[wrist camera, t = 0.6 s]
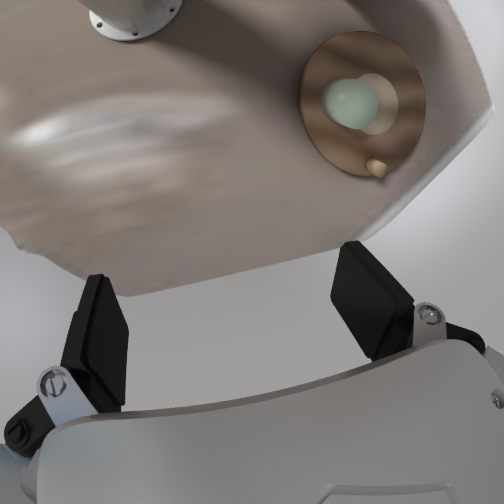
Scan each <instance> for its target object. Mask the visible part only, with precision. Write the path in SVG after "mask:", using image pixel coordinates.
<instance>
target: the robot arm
mask: <svg viewBox="0 0 504 504" xmlns="http://www.w3.org/2000/svg"><path fill="white" fill-rule="evenodd" d="M78 1H79V2H80V3H81V4H83V5H84V6H85V7H87V8H88V9H89V17H90V21H91V24H92V26H93V27H94V28H95V30H96V31H97V32H99V33H100V34H101V35H103V36H104V37H106V38H109V39H112V40H117V41H132V40H138V39H141V38H144V37H148V36H150V35H152V34H154V33H156V32H158V31H159V30H161V29H162V28H164V27H165V26H166V25H167V24H168V23H169V22H170V21H171V20H172V19H173V18H174V17H175V16H176V14H177V13H178V11H179V9H180V7H181V4H182V1H183V0H78ZM170 10H174V11H173V12H170ZM100 25H102V27H100ZM136 33H138V35H137V36H135V34H136ZM330 297H331V301H332V303H333V305H334V306H335V308H336V309H337V311H338V312H339V314H340V315H341V317H342V318H343V320H344V322H345V323H346V325H347V326H348V328H349V330H350V331H351V333H352V334H353V336H354V338H355V339H356V341H357V342H358V344H359V346H360V347H361V349H362V351H363V352H364V354H365V355H366V357H367V358H370V359H371V360H372V362H371V363H369V364H366V365H363V366H360V367H357V368H355V369H352V370H349V371H346V372H343V373H339V374H336V375H333V376H330V377H326V378H323V379H320V380H316V381H313V382H309V383H305V384H302V385H298V386H294V387H290V388H286V389H282V390H278V391H273V392H269V393H265V394H260V395H255V396H250V397H245V398H240V399H234V400H229V401H222V402H216V403H210V404H202V405H195V406H187V407H177V408H168V409H158V410H144V411H127V412H121V406H123V405H125V386H126V364H127V350H128V337H129V330H128V326H127V323H126V321H125V319H124V316H123V314H122V311H121V309H120V306H119V303H118V301H117V298H116V296H115V293H114V290H113V287H112V285H111V282H110V279H109V278H108V277H105V276H104V275H103V274H96V275H90V276H89V277H88V279H87V282H86V285H85V288H84V291H83V294H82V297H81V300H80V303H79V306H78V310H77V311H75V312H74V315H73V318H72V321H71V325H70V328H69V332H68V335H67V339H66V343H65V347H64V351H63V355H62V359H61V364H60V366H52V367H49V368H47V369H46V370H44V371H43V372H42V373H41V375H40V376H39V378H38V381H37V392H38V395H37V396H36V397H35V398H34V399H33V400H31V401H30V402H29V403H28V404H27V405H26V406H24V407H23V408H22V409H21V410H20V411H19V412H18V413H16V414H15V415H14V416H13V417H12V418H11V419H10V420H9V421H8V422H7V424H6V426H5V430H4V438H5V441H6V443H5V444H4V445H3V444H0V504H504V356H503V355H502V354H500V353H499V352H497V351H495V350H494V349H492V348H490V347H489V346H487V347H486V348H485V343H484V341H483V339H482V338H481V336H480V335H479V334H477V333H476V332H474V331H471V330H468V329H465V328H462V327H459V326H456V325H453V324H450V323H447V322H446V321H445V316H444V314H443V312H442V311H441V310H440V309H439V308H438V307H437V306H435V305H433V304H431V303H426V302H423V303H419V304H417V305H416V307H415V306H414V305H413V302H414V299H413V298H412V297H411V296H410V294H409V293H408V292H407V291H406V290H405V289H404V288H403V287H402V285H401V284H400V283H399V282H398V281H397V280H396V279H395V278H394V277H393V276H392V275H391V274H390V272H389V271H388V270H387V269H386V268H385V267H384V266H383V265H382V264H381V263H380V262H379V261H378V260H377V259H376V258H375V257H374V256H373V255H372V254H371V253H370V252H369V251H368V250H367V249H366V248H365V247H364V246H363V245H362V244H361V243H360V242H359V241H349V242H345V243H344V245H343V246H341V248H340V253H339V258H338V263H337V267H336V272H335V277H334V282H333V286H332V290H331V295H330Z"/></svg>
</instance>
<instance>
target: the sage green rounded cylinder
mask: <svg viewBox="0 0 504 504" xmlns="http://www.w3.org/2000/svg"><path fill="white" fill-rule="evenodd" d="M320 103H321V108H322V110H323V112H324V114H325V115H326V117H327V118H328V119H329V120H331V121H332V122H334V123H337V124H340V125H343V126H346V127H349V128H353V129H362V128H365V127H367V126H368V125H370V124H371V123H372V122H373V120H374V119H375V117H376V114H377V111H378V99H377V96H376V93H375V91H374V89H373V88H372V87H371V86H370V85H369V84H368V83H367V82H365V81H363V80H360V79H348V78H336V79H333V80H331V81H329V82H328V83H327V84H326V85H325V86H324V88H323V90H322V92H321V97H320Z"/></svg>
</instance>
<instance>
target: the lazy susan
mask: <svg viewBox="0 0 504 504" xmlns="http://www.w3.org/2000/svg"><path fill="white" fill-rule="evenodd" d="M336 78H348V79H360V80H363V81H365V82H367V83H368V84H369V85H370V86H371V87H372V88H373V89H374V91H375V93H376V96H377V99H378V111H377V114H376V117H375V119H374V120H373V122H372V123H371V124H370V125H368V126H367V127H365V128H362V129H353V128H349V127H346V126H343V125H340V124H337V123H334V122H332V121H331V120H329V119H328V118H327V117H326V115H325V114H324V112H323V110H322V108H321V103H320V97H321V92H322V90H323V88H324V86H325V85H326V84H327V83H328V82H329V81H331V80H333V79H336ZM299 102H300V112H301V117H302V121H303V124H304V127H305V130H306V132H307V134H308V136H309V139H310V140H311V142H312V143H313V145H314V147H315V148H316V149H317V150H318V151H319V153H320V154H321V155H322V156H323V157H324V158H325V159H326V160H328V161H329V162H330V163H332V164H333V165H335V166H336V167H338V168H340V169H342V170H344V171H346V172H348V173H351V174H354V175H360V176H373V175H375V176H377V177H379V178H382V177H384V176H385V175H386V173H387V171H389V170H391V169H393V168H395V167H396V166H398V165H399V164H400V163H401V162H403V161H404V160H405V159H406V157H407V156H408V155H409V154H410V153H411V151H412V150H413V148H414V147H415V145H416V143H417V141H418V139H419V137H420V134H421V132H422V129H423V124H424V119H425V108H426V103H425V93H424V88H423V84H422V81H421V78H420V75H419V73H418V71H417V69H416V67H415V65H414V63H413V62H412V60H411V59H410V57H409V56H408V55H407V54H406V53H405V52H404V50H403V49H401V48H400V47H399V46H398V45H397V44H396V43H394V42H393V41H391V40H390V39H388V38H386V37H384V36H382V35H379V34H376V33H372V32H367V31H354V32H347V33H343V34H340V35H337V36H334V37H332V38H330V39H328V40H327V41H326V42H324V43H323V44H322V45H320V47H319V48H318V49H317V50H316V51H315V52H314V53H313V55H312V56H311V57H310V59H309V61H308V63H307V65H306V67H305V69H304V72H303V75H302V79H301V84H300V94H299Z"/></svg>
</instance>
